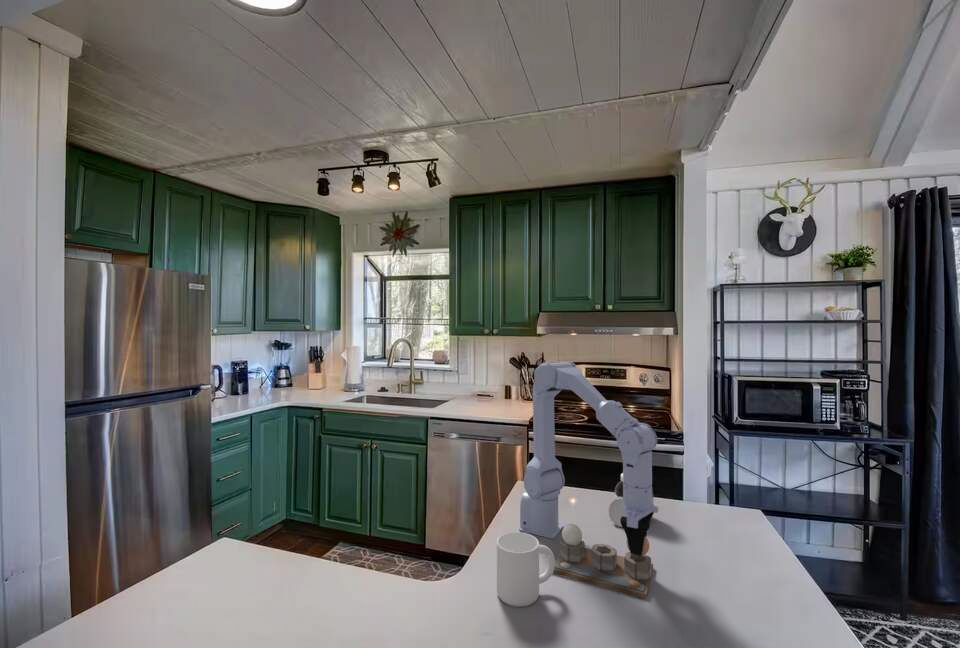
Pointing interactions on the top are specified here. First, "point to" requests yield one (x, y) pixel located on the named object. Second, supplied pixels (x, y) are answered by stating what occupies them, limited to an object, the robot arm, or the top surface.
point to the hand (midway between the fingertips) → (637, 548)
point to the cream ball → (572, 534)
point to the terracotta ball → (645, 546)
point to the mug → (520, 568)
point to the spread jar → (619, 504)
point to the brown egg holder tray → (605, 568)
